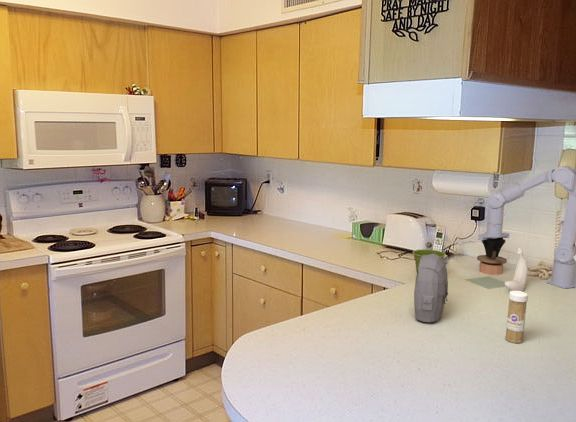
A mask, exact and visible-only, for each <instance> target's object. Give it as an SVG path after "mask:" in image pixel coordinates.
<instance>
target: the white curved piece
mask: <svg viewBox="0 0 576 422" xmlns="http://www.w3.org/2000/svg"><path fill="white" fill-rule="evenodd" d="M523 253H524V252H523V250H522V249H521V247H518V248H517V252H516V254H518V257H519V259H518V262H517V263H516V266H515V271H514V276H513V279H512V280H508V281H504V282H505V288H506V289H507V290H508V291H509V292H510V291H522V292H524V291H523V290H524V289H525V287H526V284H527V283H526V282H527V278H528V277H527V276H528V270H529V269H528V268H529V267H528V262H527V260H526V258H525V257H524V254H523Z"/></svg>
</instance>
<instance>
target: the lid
mask: <svg viewBox="0 0 576 422" xmlns="http://www.w3.org/2000/svg"><path fill="white" fill-rule="evenodd" d="M476 257H477V258H476V260H477V261H479V262H480V261H482V262H485V263H492V264H503V265H504V264H506V263H507V262H508V259H507V258H505V257H502V256H499V255H498V257H496V251H494V250H493V252H492V257H491V258H489V257H486V254H481V255H477V256H476Z"/></svg>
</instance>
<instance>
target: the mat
mask: <svg viewBox="0 0 576 422" xmlns="http://www.w3.org/2000/svg"><path fill="white" fill-rule="evenodd" d="M464 281H465V282H466V281H467V282H469V283H471V284H475V285H477V286H480V287H483V288H485V289H488V290H490V289H491V290H492V289H496V288H497V289H498V288H504V287H505V282H506V281H503V280H499V279H497V278H494V277H491V276H483V277H481V276H480V277H476V278H473V277H472V278H467V279H464ZM505 288H506V287H505Z"/></svg>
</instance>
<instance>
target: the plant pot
mask: <svg viewBox="0 0 576 422" xmlns="http://www.w3.org/2000/svg"><path fill="white" fill-rule="evenodd" d="M412 254H413V257H414V261H415V262H414V263H415V271H416V273H417V272H418V267H419V263H420V259H421V258H422V256H423V255H430V254H436V255H438V256H440V257H441V258H442V259H443V260H444V258H445V257H446V255H447V254H446V253H445V252H443V251H441V250H435V249H428V248H427V249H416V250H413V251H412Z"/></svg>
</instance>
